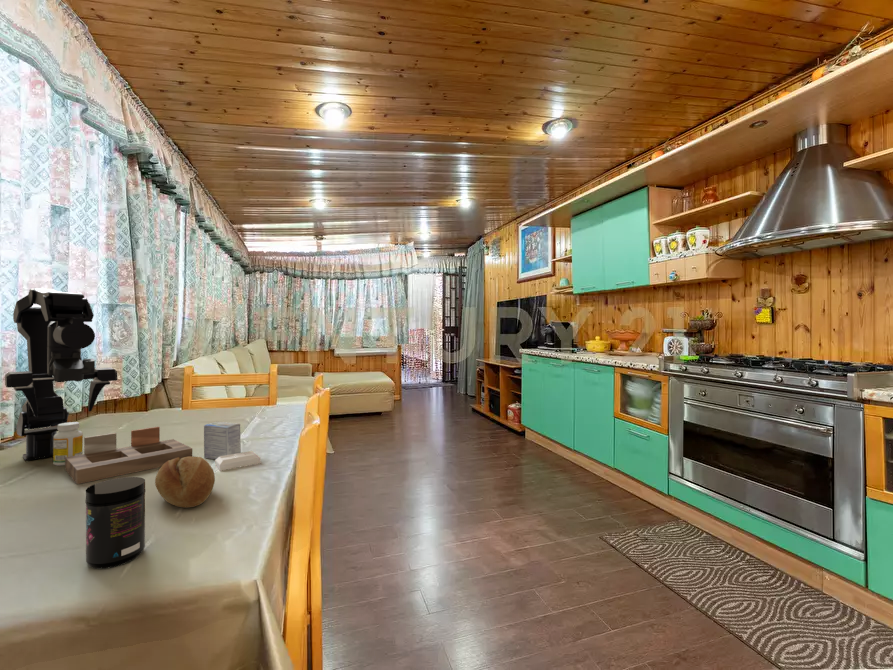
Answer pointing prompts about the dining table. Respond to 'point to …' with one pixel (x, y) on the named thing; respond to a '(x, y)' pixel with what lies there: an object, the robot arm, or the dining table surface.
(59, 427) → the supplement bottle
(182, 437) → the dining table surface
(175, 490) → the bread roll
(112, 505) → the supplement container
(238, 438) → the medicine box
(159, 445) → the socket board
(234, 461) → the soap bar
